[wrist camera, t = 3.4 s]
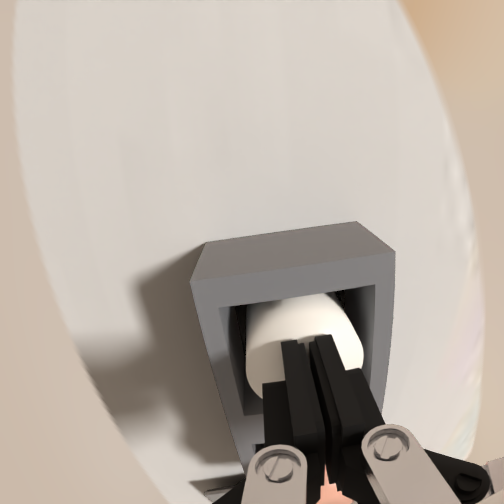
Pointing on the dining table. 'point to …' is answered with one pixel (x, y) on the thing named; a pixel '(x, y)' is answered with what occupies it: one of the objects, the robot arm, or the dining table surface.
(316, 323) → the white button
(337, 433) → the robot arm
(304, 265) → the button console
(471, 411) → the dining table surface
